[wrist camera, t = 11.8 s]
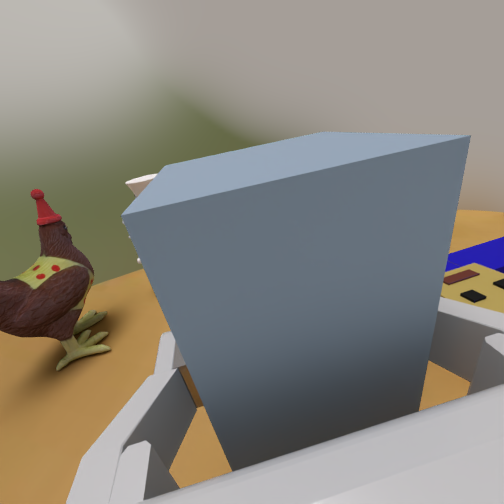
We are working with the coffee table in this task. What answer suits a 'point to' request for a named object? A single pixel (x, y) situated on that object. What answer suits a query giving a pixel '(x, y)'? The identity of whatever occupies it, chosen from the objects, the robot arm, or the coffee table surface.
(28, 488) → the coffee table surface
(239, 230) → the block
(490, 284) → the toy
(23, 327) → the figurine
